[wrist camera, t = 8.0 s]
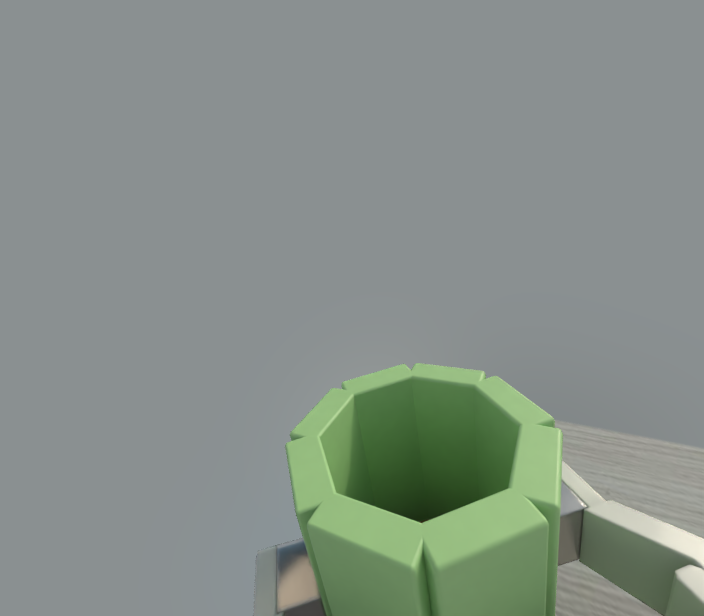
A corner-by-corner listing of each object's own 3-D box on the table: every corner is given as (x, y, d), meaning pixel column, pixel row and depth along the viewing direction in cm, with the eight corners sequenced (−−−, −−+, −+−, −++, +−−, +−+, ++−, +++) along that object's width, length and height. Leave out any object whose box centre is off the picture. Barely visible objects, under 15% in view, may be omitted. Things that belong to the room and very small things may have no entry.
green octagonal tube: (391, 867, 8) (312, 624, 5) (333, 598, 13) (277, 400, 10) (601, 740, 9) (643, 481, 6) (471, 539, 14) (458, 346, 11)
